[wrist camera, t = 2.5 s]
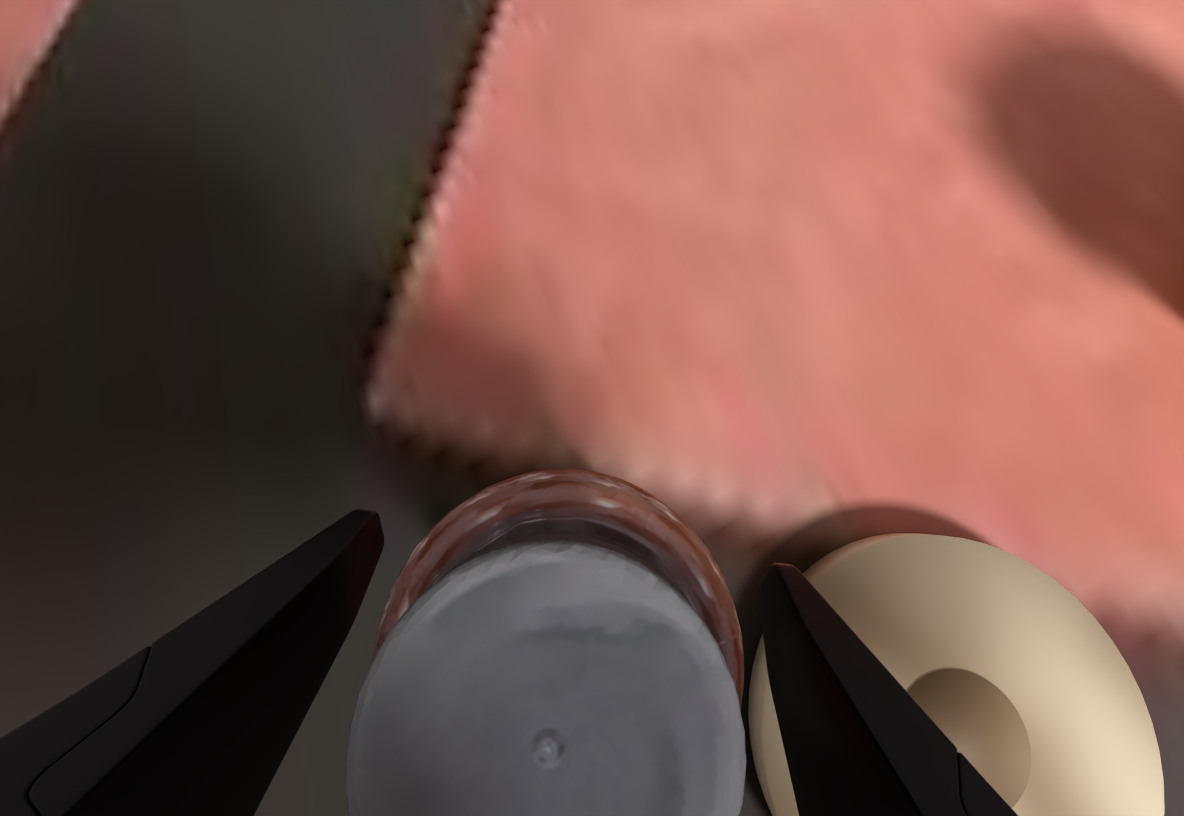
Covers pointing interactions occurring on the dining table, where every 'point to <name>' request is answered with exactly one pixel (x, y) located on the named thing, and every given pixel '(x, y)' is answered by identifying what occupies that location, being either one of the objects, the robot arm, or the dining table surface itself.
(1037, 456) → the dining table surface
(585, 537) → the supplement bottle
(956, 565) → the coaster
